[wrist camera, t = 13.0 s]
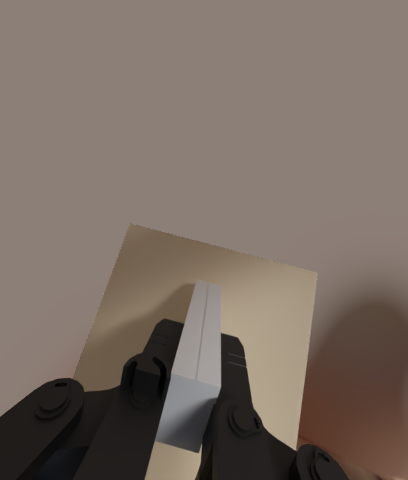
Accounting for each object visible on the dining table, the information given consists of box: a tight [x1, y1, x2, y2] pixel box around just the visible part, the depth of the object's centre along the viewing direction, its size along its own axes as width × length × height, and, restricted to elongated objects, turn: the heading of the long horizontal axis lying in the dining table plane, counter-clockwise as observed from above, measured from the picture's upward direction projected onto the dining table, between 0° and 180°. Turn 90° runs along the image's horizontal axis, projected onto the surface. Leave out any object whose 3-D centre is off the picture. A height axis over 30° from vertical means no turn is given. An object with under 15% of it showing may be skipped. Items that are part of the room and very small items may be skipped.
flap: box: [73, 223, 318, 480], centre depth 13 cm, size 14×15×1 cm
